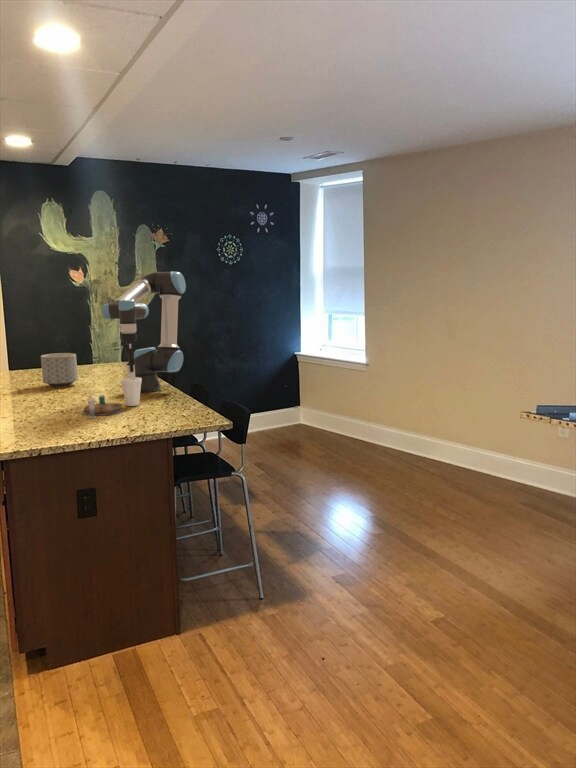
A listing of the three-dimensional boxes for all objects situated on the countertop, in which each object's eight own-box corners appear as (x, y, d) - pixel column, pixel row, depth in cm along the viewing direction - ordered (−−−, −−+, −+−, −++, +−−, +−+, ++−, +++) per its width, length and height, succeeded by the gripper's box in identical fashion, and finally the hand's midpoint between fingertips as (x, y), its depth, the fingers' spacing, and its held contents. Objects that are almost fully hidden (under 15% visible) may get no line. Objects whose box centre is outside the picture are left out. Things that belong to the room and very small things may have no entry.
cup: (147, 404, 298) (145, 377, 295) (135, 408, 288) (134, 381, 286) (129, 402, 301) (128, 376, 299) (117, 407, 292) (116, 380, 289)
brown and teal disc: (120, 403, 296) (119, 394, 296) (123, 411, 276) (123, 402, 276) (83, 405, 291) (83, 397, 290) (84, 415, 271) (83, 405, 270)
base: (122, 406, 293) (121, 404, 293) (124, 413, 276) (124, 412, 276) (82, 409, 287) (82, 407, 287) (83, 417, 270) (83, 415, 270)
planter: (85, 384, 355) (83, 354, 352) (57, 390, 339) (55, 357, 336) (64, 382, 365) (61, 352, 362) (36, 387, 349) (33, 356, 346)
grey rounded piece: (96, 416, 272) (95, 397, 271) (97, 418, 269) (95, 398, 267) (88, 417, 271) (87, 397, 269) (88, 418, 268) (87, 399, 266)
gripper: (118, 331, 299) (120, 373, 302) (122, 334, 276) (124, 381, 279) (134, 330, 301) (136, 373, 305) (139, 334, 278) (141, 380, 281)
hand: (130, 377), depth 292 cm, fingers open, 13 cm apart
